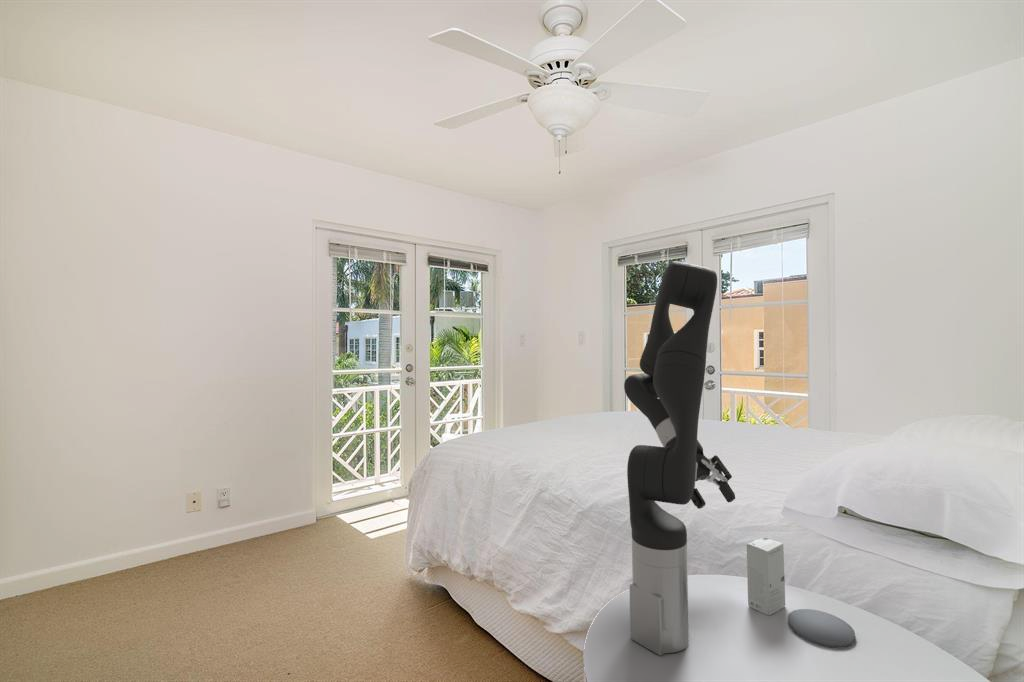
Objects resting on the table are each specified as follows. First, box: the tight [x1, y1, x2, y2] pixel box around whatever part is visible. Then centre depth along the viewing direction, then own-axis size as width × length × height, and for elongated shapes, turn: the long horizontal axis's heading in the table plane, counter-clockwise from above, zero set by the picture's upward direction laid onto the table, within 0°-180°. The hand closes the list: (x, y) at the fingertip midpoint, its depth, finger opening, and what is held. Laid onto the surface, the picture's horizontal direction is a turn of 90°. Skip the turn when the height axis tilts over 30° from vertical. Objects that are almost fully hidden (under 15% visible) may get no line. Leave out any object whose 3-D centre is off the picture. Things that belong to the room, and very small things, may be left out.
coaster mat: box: [787, 608, 856, 649], centre depth 86 cm, size 10×10×1 cm
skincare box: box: [746, 537, 786, 616], centre depth 94 cm, size 6×4×12 cm
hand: (717, 503), depth 104 cm, fingers open, 8 cm apart
